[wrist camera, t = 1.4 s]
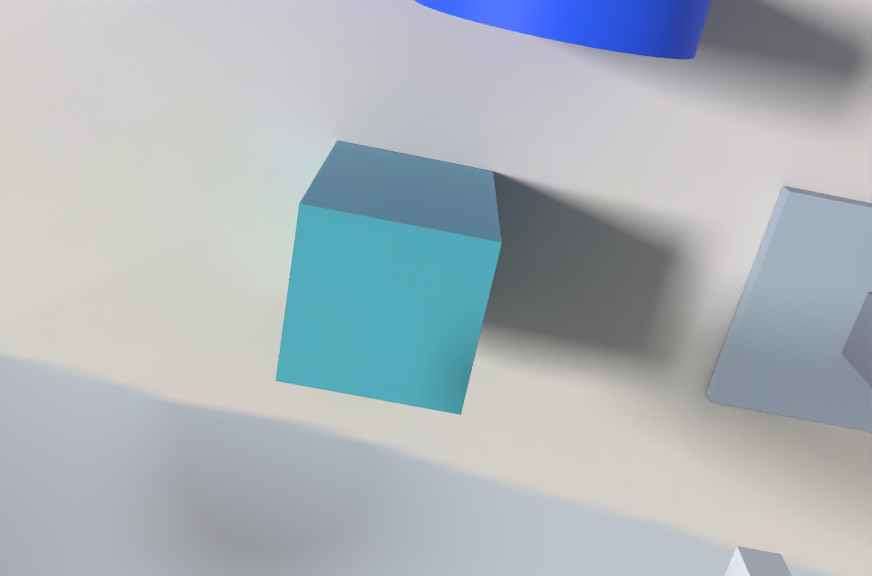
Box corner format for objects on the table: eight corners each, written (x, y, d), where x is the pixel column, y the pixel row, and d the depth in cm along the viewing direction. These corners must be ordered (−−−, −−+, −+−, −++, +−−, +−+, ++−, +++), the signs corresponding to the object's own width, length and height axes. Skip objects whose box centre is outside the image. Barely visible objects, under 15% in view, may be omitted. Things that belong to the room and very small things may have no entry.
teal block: (337, 140, 27) (299, 203, 21) (493, 171, 27) (502, 242, 21) (315, 284, 29) (275, 380, 23) (461, 312, 29) (460, 414, 23)
